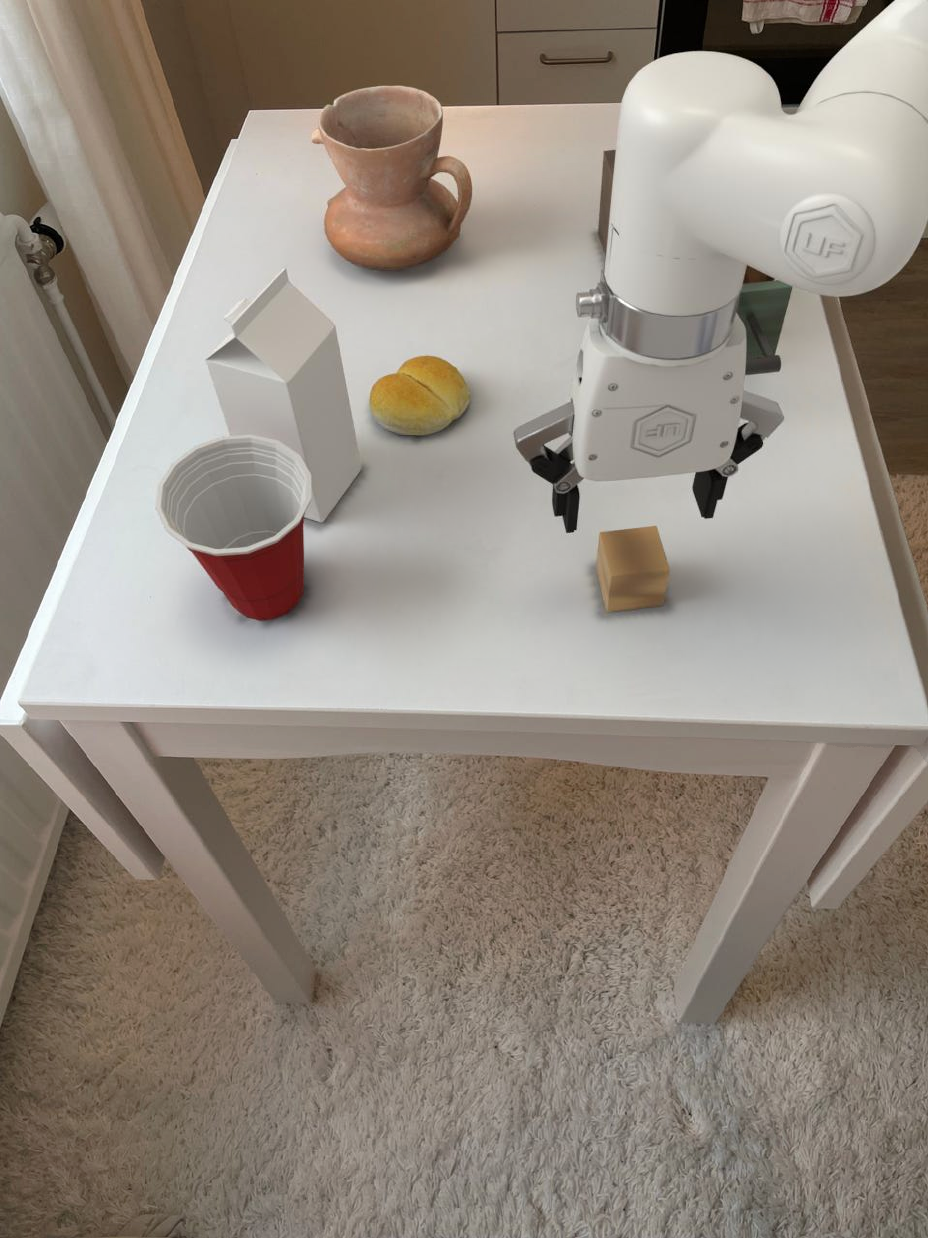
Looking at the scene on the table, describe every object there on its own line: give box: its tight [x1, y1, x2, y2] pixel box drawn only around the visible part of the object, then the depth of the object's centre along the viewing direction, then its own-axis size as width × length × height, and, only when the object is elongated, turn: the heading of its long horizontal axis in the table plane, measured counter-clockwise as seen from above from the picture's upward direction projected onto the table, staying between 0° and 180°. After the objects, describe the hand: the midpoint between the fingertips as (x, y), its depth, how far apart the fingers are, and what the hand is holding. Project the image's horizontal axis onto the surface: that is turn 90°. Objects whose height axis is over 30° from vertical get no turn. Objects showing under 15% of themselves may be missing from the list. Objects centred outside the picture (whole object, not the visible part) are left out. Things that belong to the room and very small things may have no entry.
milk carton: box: [205, 267, 362, 523], centre depth 75 cm, size 7×7×19 cm
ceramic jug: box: [310, 85, 473, 271], centre depth 98 cm, size 18×14×14 cm
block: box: [595, 525, 671, 613], centre depth 72 cm, size 4×4×4 cm
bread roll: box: [369, 355, 472, 436], centre depth 86 cm, size 8×9×4 cm
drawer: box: [736, 265, 794, 376], centre depth 87 cm, size 21×11×7 cm, turn 6°
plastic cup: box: [155, 435, 311, 621], centre depth 71 cm, size 11×11×12 cm
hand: (634, 510), depth 67 cm, fingers open, 9 cm apart
